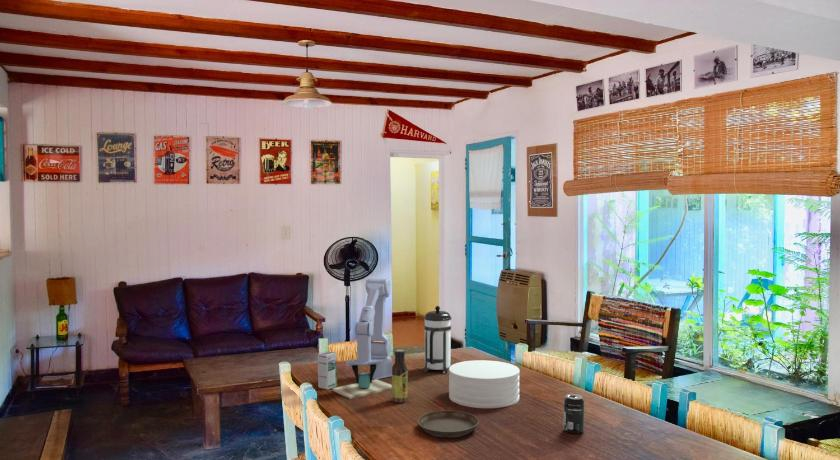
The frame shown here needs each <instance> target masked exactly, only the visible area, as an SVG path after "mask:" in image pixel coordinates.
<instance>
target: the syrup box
mask: <svg viewBox="0 0 840 460" xmlns="http://www.w3.org/2000/svg"><path fill="white" fill-rule="evenodd" d="M337 362H338V361H337V353H336V352H334V351H329V350H328V351H324V352H320V353H317V382H318V383H317V384H318V385H317V386H318V388H319V389H324V390H330V389H333V388H336V387H338V369H337V367H338V366H337Z"/></svg>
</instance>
